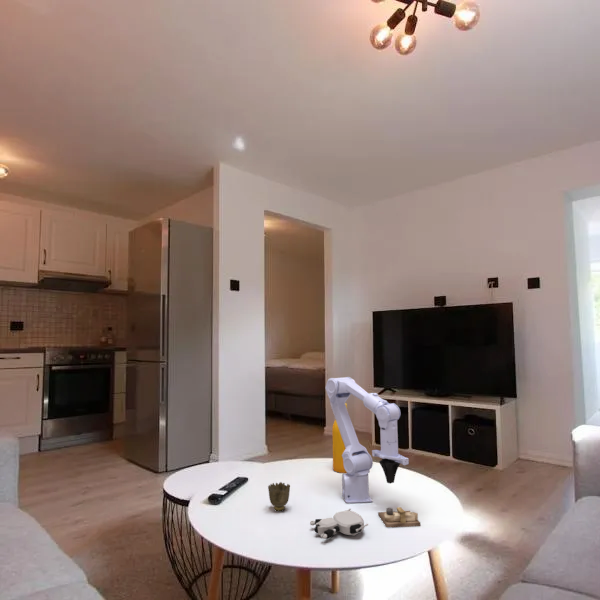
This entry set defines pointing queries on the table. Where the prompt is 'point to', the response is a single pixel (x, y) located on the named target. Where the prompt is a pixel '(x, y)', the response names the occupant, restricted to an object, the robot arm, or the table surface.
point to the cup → (279, 495)
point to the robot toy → (339, 524)
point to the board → (397, 523)
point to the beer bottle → (338, 448)
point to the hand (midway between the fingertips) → (390, 482)
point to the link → (396, 517)
